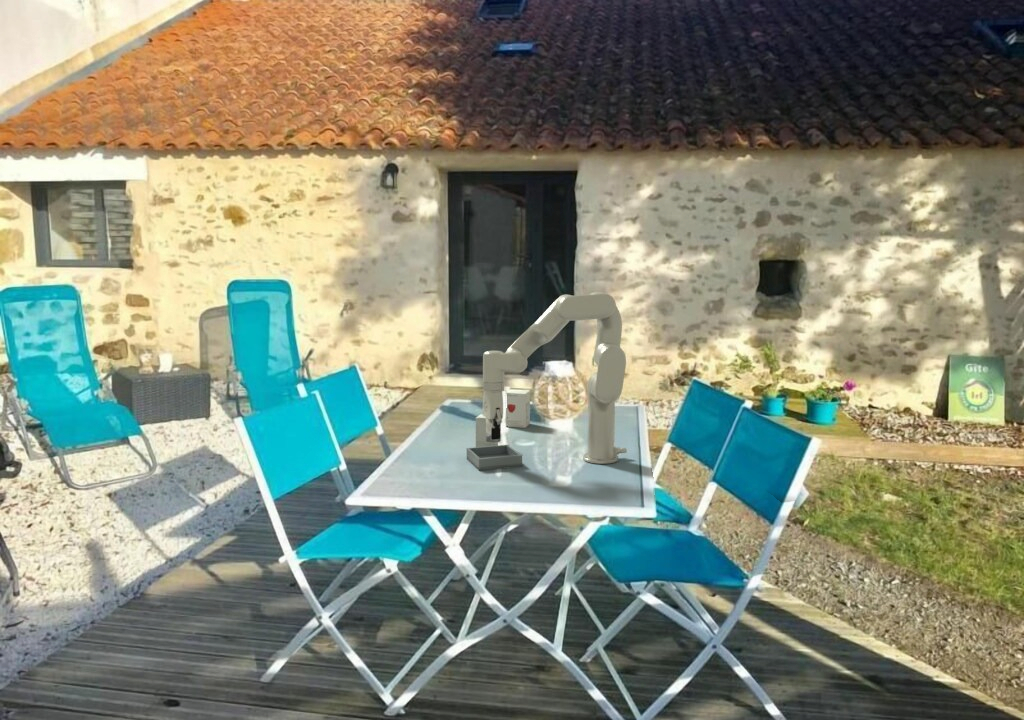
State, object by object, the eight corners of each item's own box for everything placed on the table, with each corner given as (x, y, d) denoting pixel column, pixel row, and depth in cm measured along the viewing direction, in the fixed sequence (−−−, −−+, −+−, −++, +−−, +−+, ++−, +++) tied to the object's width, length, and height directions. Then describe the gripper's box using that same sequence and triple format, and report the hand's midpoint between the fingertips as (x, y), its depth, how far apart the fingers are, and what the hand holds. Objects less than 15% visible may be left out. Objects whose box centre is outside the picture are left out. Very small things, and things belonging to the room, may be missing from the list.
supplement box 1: (494, 451, 286) (494, 418, 284) (475, 450, 287) (474, 417, 286) (498, 446, 293) (498, 414, 291) (479, 445, 295) (479, 413, 293)
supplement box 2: (505, 427, 326) (505, 392, 324) (510, 422, 334) (510, 388, 332) (525, 428, 324) (526, 393, 321) (530, 423, 332) (530, 389, 330)
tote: (507, 455, 281) (507, 444, 280) (522, 466, 266) (522, 455, 266) (466, 458, 276) (466, 448, 275) (478, 470, 261) (478, 459, 261)
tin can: (497, 438, 273) (498, 416, 272) (502, 441, 268) (502, 419, 267) (483, 439, 271) (484, 417, 270) (488, 442, 266) (488, 420, 265)
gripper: (476, 382, 274) (476, 432, 276) (490, 391, 258) (490, 443, 260) (496, 381, 276) (496, 431, 279) (511, 390, 260) (511, 442, 263)
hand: (493, 436), depth 270 cm, fingers closed on tin can, 5 cm apart
